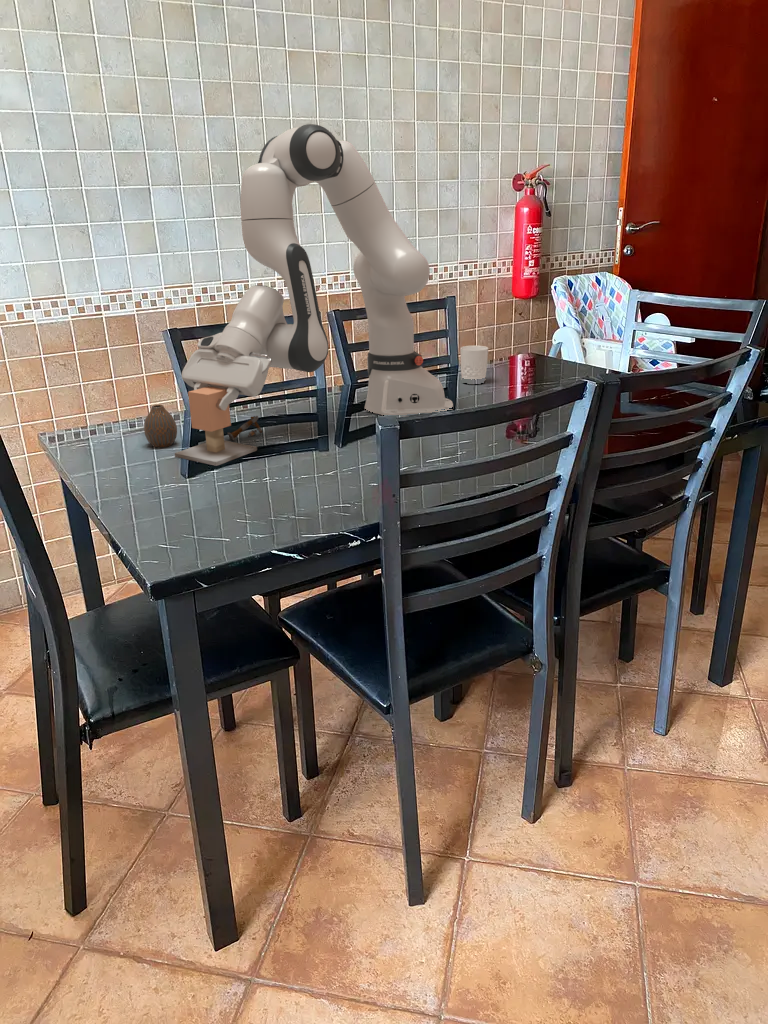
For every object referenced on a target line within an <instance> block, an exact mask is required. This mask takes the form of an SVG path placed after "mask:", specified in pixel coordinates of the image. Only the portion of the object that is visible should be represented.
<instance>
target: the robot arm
mask: <svg viewBox="0 0 768 1024" xmlns="http://www.w3.org/2000/svg"><path fill="white" fill-rule="evenodd" d="M311 183H317V184H318V185H319V186H320V187H321V188H322V190H323V192H325V195H326V197H327V200H328V201H329V204H330V206H331V207H332V210H333V212H334V214H335V215H336V217H337V219H338V222H339V224H340V226H341V227H342V229H343V232H344V234H345V235H346V237H347V238H348V240H350V242H352V243H353V244H354V246H355V247H356V248H357V249H358V250H359V251H360V252H359V253H358V254H357V256H356V257H355V259H354V263H353V266H352V267H353V275H354V277H355V279H356V281H357V282H358V284H359V287H360V292H361V294H362V298H363V302H364V308H365V312H366V317H367V324H368V325H367V326H368V329H367V330H368V349H369V350H368V352H367V358H366V364H367V374H368V385H367V387H368V388H367V394H366V395H367V396H366V399H365V404H364V408H363V409H364V410H365V409H366V410H365V411H367V410H368V411H367V412H369V411H370V412H369V413H372V412H373V414H377V415H378V414H379V415H381V416H383V415H407V414H418V413H432V412H439V411H447V410H452V411H453V409H454V403H453V401H452V400H451V399H450V398H446V396H445V391H444V386H443V384H442V382H441V380H440V379H438V378H437V377H436V376H435V375H433V374H432V373H430V371H428V370H427V369H426V368H425V367H423V363H424V358H423V355H422V354H421V353H420V352H419V353H418V352H417V351H415V347H414V345H415V344H414V342H415V339H414V338H415V337H414V335H415V334H414V333H415V332H414V331H415V330H414V329H415V326H414V323H415V322H414V318H413V315H412V314H411V312H410V311H409V310H410V309H409V308H408V305H407V302H406V301H407V300H406V298H405V297H406V296H411V295H415V294H417V293H420V292H421V291H422V290H424V289H425V287H426V285H427V284H428V282H429V278H430V273H431V272H430V264H429V261H428V260H427V258H426V257H425V256H424V255H423V253H421V252H420V251H419V250H418V249H416V247H415V245H413V244H412V242H411V241H410V239H409V238H408V237H407V236H406V234H405V232H404V231H403V230H402V229H401V227H400V226H399V224H398V223H397V222H396V220H395V218H394V217H393V216H392V214H391V212H390V210H389V209H388V206H387V205H386V202H385V201H384V197H383V196H382V193H381V192H380V189H379V188H378V186H377V183H376V182H375V179H374V177H373V175H372V172H371V171H370V169H369V167H368V166H367V164H366V162H365V161H364V159H363V157H362V156H361V154H360V153H359V151H358V150H357V149H356V147H355V146H354V144H352V143H351V142H349V141H347V140H342V139H341V140H340V139H339V140H338V139H337V138H336V137H335V136H334V134H333V133H332V132H331V131H330V130H329V129H327V128H326V127H325V126H321V125H319V124H311V123H308V124H303V125H301V126H295V127H291V128H289V129H286V130H285V131H284V132H282V133H280V134H278V135H276V136H273V137H271V138H270V139H269V140H268V141H267V142H266V143H265V144H264V145H263V147H262V149H261V152H260V155H259V158H258V161H257V163H254V164H252V165H251V166H249V167H247V168H246V169H245V170H244V172H243V174H242V178H241V184H240V185H241V186H240V221H241V224H240V225H241V233H242V235H241V236H242V240H243V244H244V247H245V250H246V252H248V254H249V255H250V257H252V259H254V260H255V261H257V262H258V263H259V264H261V265H263V266H265V267H267V268H269V269H271V270H272V271H274V272H276V273H277V274H278V275H279V276H280V277H281V278H282V279H283V281H284V283H285V284H286V285H285V286H286V287H287V291H288V292H287V293H288V297H289V302H290V309H291V312H292V318H293V324H292V323H288V322H287V321H286V319H285V314H284V309H283V307H284V301H285V298H284V296H283V295H282V294H281V293H280V291H279V290H277V289H275V288H273V287H271V286H268V285H261V284H260V285H259V284H258V285H252V286H251V287H249V288H248V289H247V290H246V292H245V293H244V294H243V295H242V297H241V298H240V299H239V302H237V304H236V307H235V308H234V311H233V313H232V316H231V320H230V322H228V324H227V325H226V326H225V327H224V328H223V330H222V332H218V333H216V334H213V335H210V336H206V337H202V338H200V339H199V340H198V342H197V347H198V349H196V350H195V351H193V353H192V354H191V355H190V357H189V358H188V360H187V361H186V364H185V366H184V367H183V369H182V371H181V379H182V380H183V381H184V383H186V384H187V385H188V386H189V387H190V388H193V390H197V389H201V388H205V387H214V388H221V389H227V394H226V395H225V396H224V397H223V398H222V399H218V401H217V403H216V407H217V408H218V409H219V410H224V411H225V410H226V409H227V407H228V405H229V406H230V404H232V403H233V402H234V401H236V399H238V396H239V395H242V396H248V397H257V396H258V395H260V393H261V392H262V390H263V388H264V385H265V382H266V379H267V377H268V373H269V370H270V368H278V369H285V370H286V369H287V370H296V371H300V372H305V373H313V372H315V371H318V369H320V367H321V366H322V365H323V364H324V362H325V361H326V360H327V357H328V354H329V339H328V336H327V333H326V332H325V329H324V326H323V325H324V324H323V322H322V318H321V313H320V307H319V301H318V297H317V296H318V295H317V291H316V285H315V281H314V274H313V271H312V266H311V261H310V259H309V255H308V254H307V251H306V250H305V248H304V247H302V245H301V244H300V242H299V240H298V236H297V234H296V233H297V232H296V228H295V221H294V220H295V218H294V209H293V198H294V194H295V192H296V188H300V187H306V186H308V185H310V184H311ZM452 407H453V409H449V408H452ZM441 409H445V410H441ZM435 410H438V411H435Z"/></svg>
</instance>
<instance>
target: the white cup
mask: <svg viewBox="0 0 768 1024" xmlns="http://www.w3.org/2000/svg"><path fill="white" fill-rule="evenodd" d="M459 349H460V351H459V352H460V373H461V379H462V378H464V379H471V380H472V379H475V380H476V379H482V378H485V377H486V378H487V375H486V374H487V370H488V369H487V368H488V359H489V358H488V356H489V347H488V346H485V345H484V346H483V345H466V346H465V345H464V346H460V348H459Z"/></svg>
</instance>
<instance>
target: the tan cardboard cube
mask: <svg viewBox="0 0 768 1024" xmlns="http://www.w3.org/2000/svg"><path fill="white" fill-rule="evenodd" d="M187 393H188V396H187V397H188V402H189V403H188V404H189V411H190V412H189V413H190V420H191V421H190V422H191V429H194V430H195V429H196V430H200V431H204V432H205V431H210V432H212V431H216V430H219V429H222V428H223V429H224V428H228V427H231V426H232V423H231V422H232V421H231V411H230V409H231V408H230V404H229V405H228V407H227V409H226V410H225V411H224V410H219V409H218V408H217V407H216V403H217V401H218V399H222V398H223V397H224V396H225V395H226V394H227V389H221V388H214V387H205V388H201V389H197V390H194V389H193V390H189V391H188V392H187Z"/></svg>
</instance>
